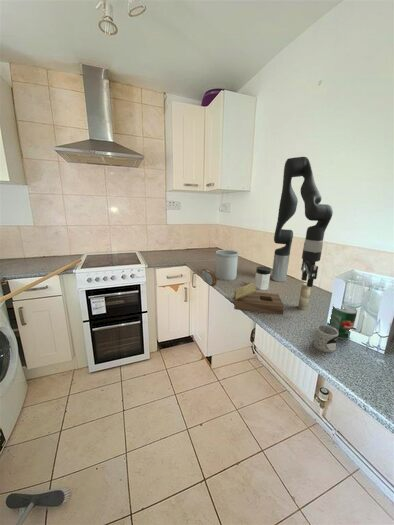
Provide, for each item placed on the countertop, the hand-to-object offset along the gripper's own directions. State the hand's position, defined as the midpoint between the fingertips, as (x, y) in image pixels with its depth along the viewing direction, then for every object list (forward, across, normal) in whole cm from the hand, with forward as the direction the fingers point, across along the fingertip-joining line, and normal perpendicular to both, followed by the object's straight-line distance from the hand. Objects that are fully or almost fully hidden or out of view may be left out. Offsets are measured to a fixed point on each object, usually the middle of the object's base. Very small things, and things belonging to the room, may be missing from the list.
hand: (306, 283), depth 102 cm
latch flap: (+6, +2, -28) cm, 29 cm away
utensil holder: (+13, -36, -39) cm, 55 cm away
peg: (+13, 0, 0) cm, 13 cm away
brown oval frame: (+13, -22, -49) cm, 55 cm away
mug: (+13, +29, 0) cm, 32 cm away
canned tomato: (+13, +20, +8) cm, 25 cm away
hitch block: (+13, +2, -22) cm, 25 cm away
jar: (+13, -23, -17) cm, 31 cm away
